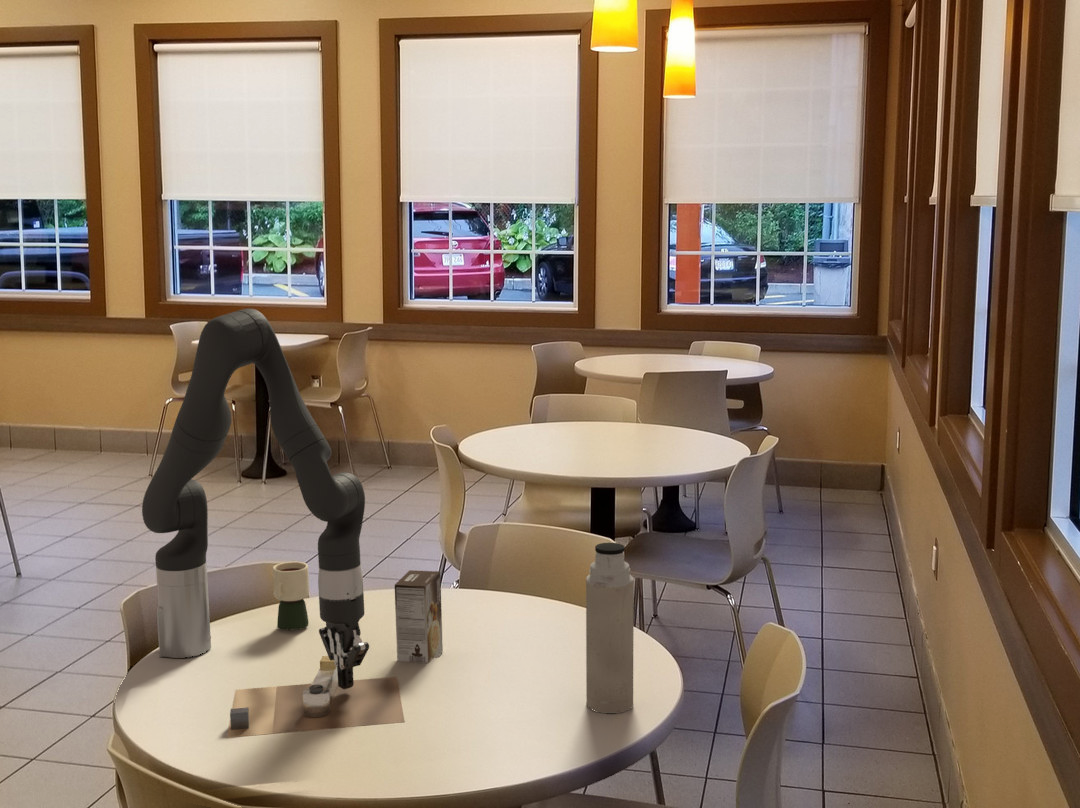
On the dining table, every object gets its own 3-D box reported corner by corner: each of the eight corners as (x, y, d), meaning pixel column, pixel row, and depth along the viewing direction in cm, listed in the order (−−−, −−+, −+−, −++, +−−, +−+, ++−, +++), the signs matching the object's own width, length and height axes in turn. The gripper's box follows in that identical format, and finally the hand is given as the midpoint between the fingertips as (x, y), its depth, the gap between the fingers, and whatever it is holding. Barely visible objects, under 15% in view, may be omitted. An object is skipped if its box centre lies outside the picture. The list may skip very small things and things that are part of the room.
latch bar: (327, 717, 188) (326, 690, 188) (300, 717, 189) (299, 690, 188) (343, 681, 203) (342, 656, 202) (319, 681, 203) (318, 656, 202)
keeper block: (230, 729, 185) (230, 713, 184) (231, 725, 186) (230, 708, 186) (248, 728, 185) (248, 711, 185) (249, 723, 187) (248, 707, 186)
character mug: (291, 617, 240) (288, 557, 238) (321, 621, 238) (319, 560, 236) (263, 635, 230) (260, 572, 228) (294, 639, 227) (291, 576, 225)
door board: (227, 744, 182) (227, 737, 182) (236, 696, 200) (235, 689, 200) (404, 728, 187) (404, 721, 187) (397, 683, 206) (397, 676, 205)
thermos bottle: (593, 692, 201) (593, 537, 196) (638, 697, 198) (639, 540, 194) (580, 710, 193) (579, 549, 189) (626, 716, 191) (626, 554, 186)
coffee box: (411, 649, 222) (409, 568, 219) (443, 651, 220) (441, 570, 218) (396, 667, 213) (393, 583, 210) (429, 669, 212) (427, 585, 209)
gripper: (301, 587, 198) (307, 682, 201) (342, 605, 188) (347, 705, 191) (339, 577, 203) (344, 670, 206) (381, 594, 193) (385, 692, 196)
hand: (346, 687), depth 198 cm, fingers closed
